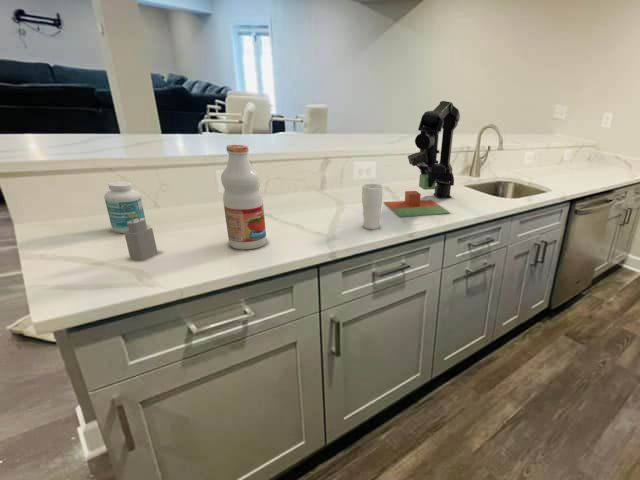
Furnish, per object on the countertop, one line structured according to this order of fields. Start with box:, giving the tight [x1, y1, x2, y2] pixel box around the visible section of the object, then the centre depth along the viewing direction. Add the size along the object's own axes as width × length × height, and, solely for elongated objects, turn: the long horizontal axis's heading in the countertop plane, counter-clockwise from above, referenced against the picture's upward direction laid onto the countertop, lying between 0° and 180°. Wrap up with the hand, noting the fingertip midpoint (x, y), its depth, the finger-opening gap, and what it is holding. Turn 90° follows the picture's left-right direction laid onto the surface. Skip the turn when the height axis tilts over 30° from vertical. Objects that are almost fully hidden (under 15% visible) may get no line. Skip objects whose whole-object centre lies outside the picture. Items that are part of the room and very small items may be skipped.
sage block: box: [418, 173, 436, 191], centre depth 155 cm, size 5×5×5 cm
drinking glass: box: [361, 183, 383, 230], centre depth 133 cm, size 7×7×15 cm
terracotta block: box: [404, 190, 422, 206], centre depth 164 cm, size 5×5×5 cm
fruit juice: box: [220, 144, 267, 250], centre depth 106 cm, size 9×9×28 cm
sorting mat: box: [384, 199, 451, 218], centre depth 162 cm, size 22×18×1 cm
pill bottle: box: [104, 181, 147, 234], centre depth 107 cm, size 8×7×14 cm
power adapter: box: [123, 210, 159, 262], centre depth 95 cm, size 3×5×12 cm, turn 177°
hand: (427, 185), depth 155 cm, fingers closed on sage block, 5 cm apart
